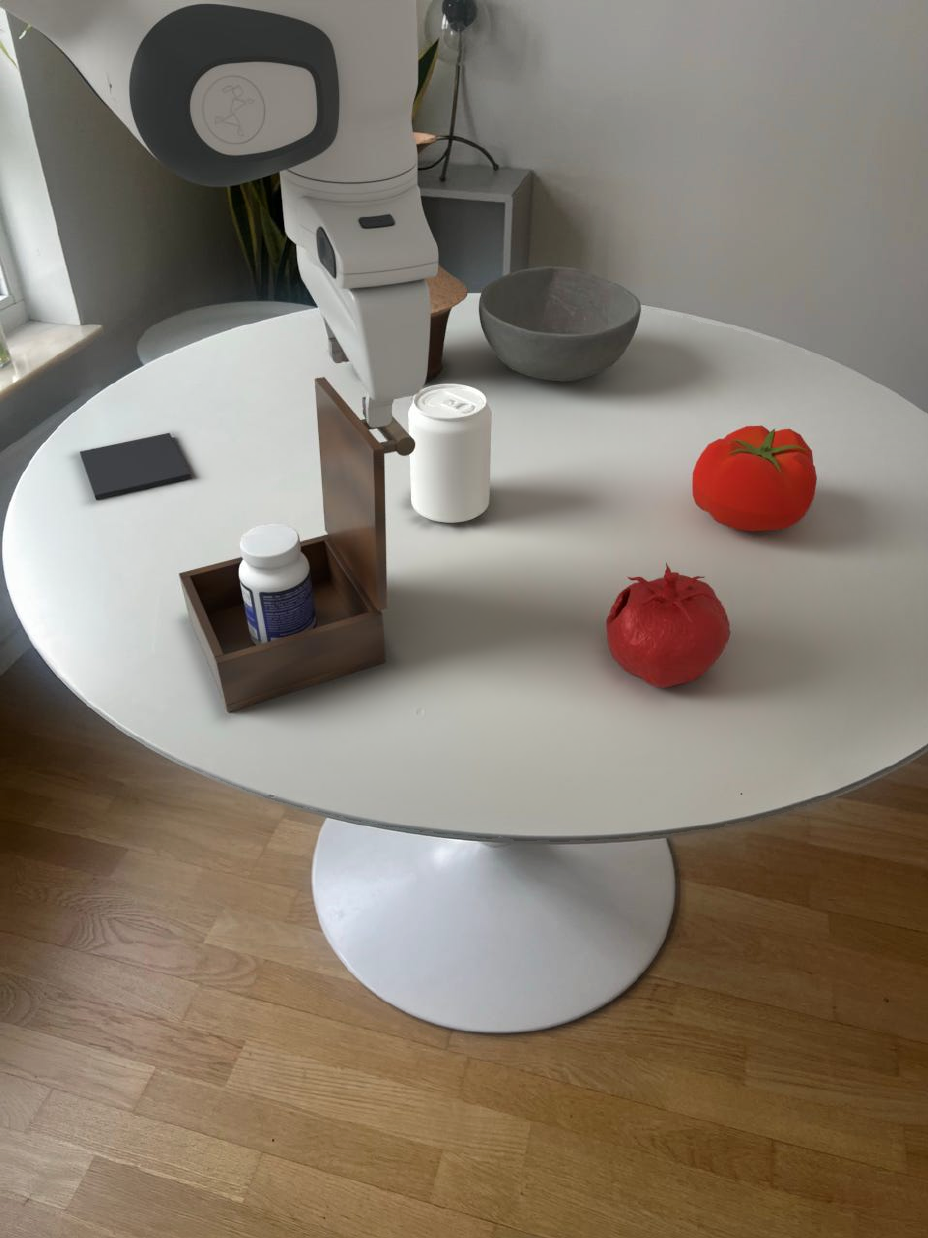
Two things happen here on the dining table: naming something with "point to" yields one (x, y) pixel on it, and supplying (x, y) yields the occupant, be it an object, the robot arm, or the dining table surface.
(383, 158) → the robot arm
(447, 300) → the pitcher
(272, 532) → the pill bottle
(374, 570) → the chest lid
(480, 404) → the beverage can
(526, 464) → the dining table surface
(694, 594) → the red crowned fruit
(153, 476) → the mat
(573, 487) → the dining table surface
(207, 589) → the chest
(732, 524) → the tomato
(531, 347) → the bowl
